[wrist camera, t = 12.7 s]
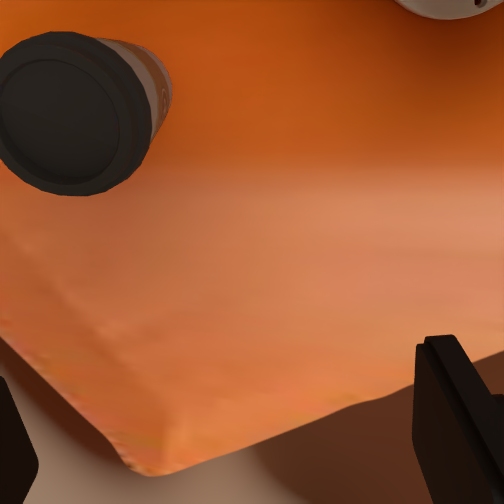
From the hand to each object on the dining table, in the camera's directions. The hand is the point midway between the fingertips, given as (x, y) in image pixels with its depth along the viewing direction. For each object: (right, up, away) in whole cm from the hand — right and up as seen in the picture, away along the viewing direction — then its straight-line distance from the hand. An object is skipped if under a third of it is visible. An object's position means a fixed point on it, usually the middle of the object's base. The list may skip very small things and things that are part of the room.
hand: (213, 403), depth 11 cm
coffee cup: (-8, +16, +26) cm, 32 cm away
